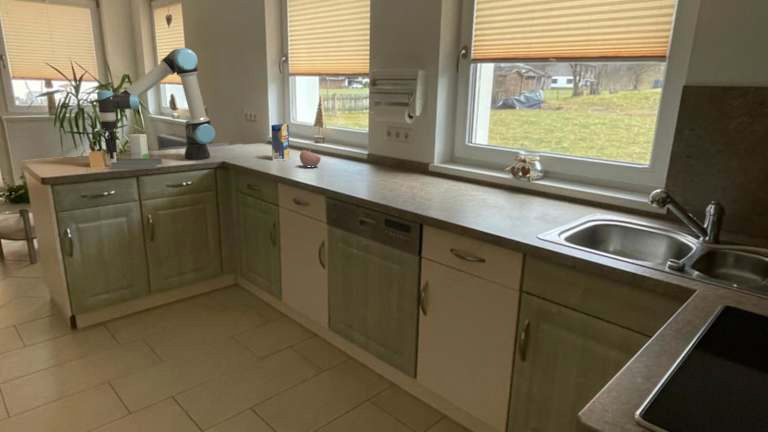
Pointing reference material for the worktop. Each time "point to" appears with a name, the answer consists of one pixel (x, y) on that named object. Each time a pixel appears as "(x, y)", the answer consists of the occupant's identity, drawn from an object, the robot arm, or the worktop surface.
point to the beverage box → (280, 141)
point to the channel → (136, 163)
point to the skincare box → (138, 146)
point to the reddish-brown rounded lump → (309, 158)
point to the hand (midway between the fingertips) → (113, 164)
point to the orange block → (97, 159)
